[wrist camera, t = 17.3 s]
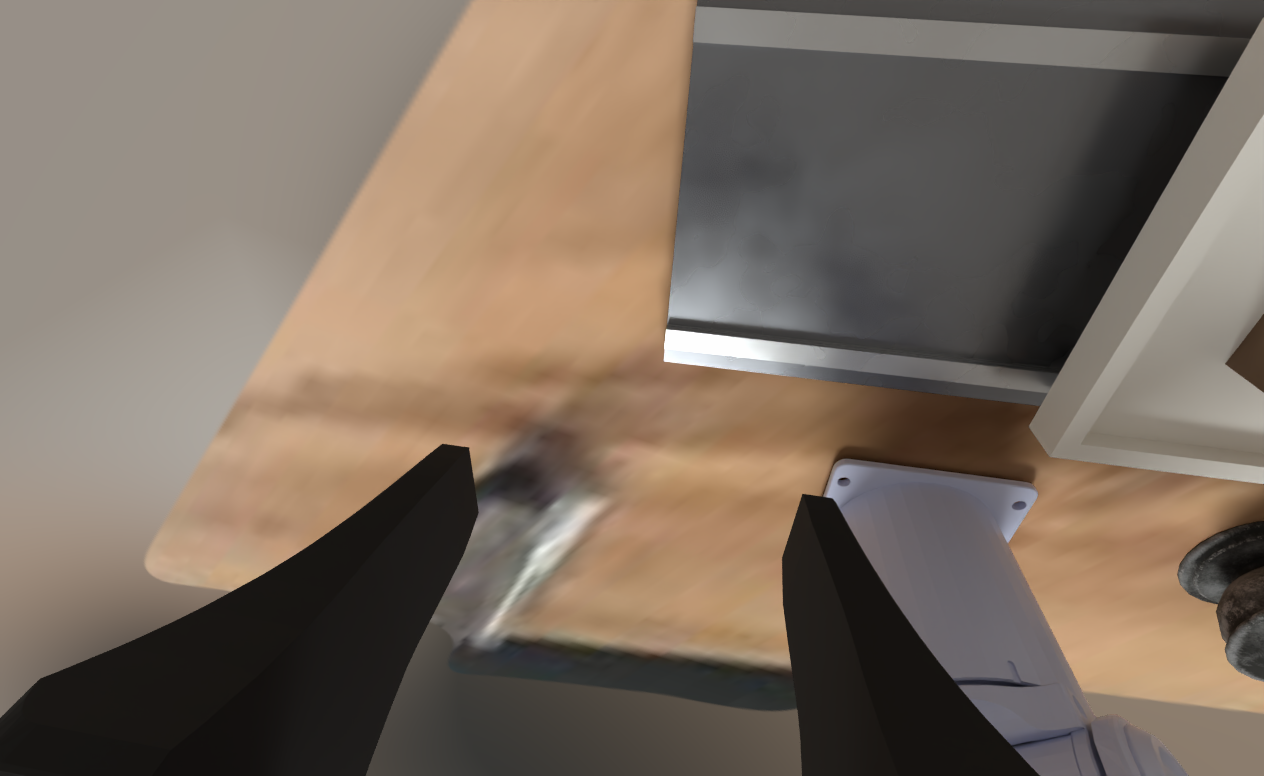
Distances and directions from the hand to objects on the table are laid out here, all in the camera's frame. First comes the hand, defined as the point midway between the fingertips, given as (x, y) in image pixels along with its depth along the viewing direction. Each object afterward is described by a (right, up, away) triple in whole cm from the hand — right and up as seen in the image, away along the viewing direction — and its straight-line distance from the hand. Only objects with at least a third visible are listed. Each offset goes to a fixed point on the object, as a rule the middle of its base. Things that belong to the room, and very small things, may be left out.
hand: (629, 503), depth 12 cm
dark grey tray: (+14, +7, +5) cm, 16 cm away
